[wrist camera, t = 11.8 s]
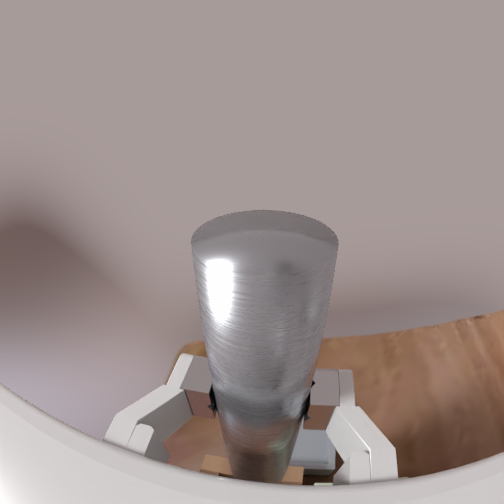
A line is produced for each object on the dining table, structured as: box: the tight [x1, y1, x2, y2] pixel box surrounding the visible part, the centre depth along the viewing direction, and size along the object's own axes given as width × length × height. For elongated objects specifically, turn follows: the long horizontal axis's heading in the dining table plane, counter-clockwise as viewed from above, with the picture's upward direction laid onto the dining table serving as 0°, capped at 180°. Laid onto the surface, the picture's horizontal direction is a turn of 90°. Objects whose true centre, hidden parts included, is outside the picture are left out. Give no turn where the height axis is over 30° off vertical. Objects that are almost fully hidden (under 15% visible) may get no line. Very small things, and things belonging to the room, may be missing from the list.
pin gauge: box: [191, 210, 338, 484], centre depth 10 cm, size 3×3×14 cm
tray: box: [289, 416, 336, 475], centre depth 23 cm, size 8×8×2 cm
